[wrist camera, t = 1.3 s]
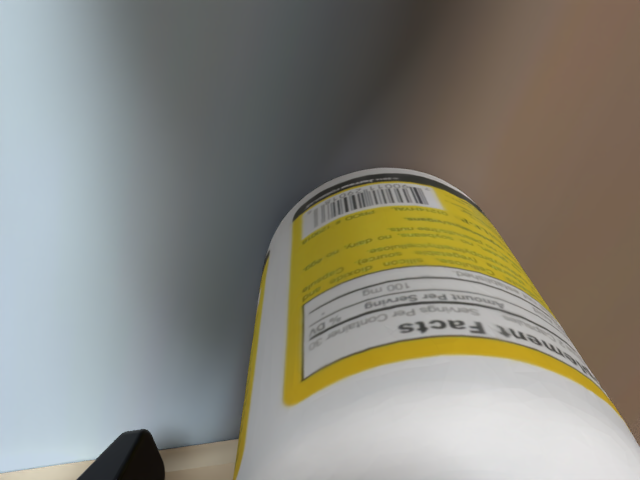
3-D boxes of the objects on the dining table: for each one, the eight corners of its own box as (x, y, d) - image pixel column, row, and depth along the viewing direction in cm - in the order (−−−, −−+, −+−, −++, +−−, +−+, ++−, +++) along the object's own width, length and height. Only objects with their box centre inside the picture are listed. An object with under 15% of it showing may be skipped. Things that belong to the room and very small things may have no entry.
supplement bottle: (396, 395, 15) (508, 1016, 6) (221, 292, 14) (48, 918, 5) (549, 248, 13) (1020, 857, 4) (362, 108, 12) (503, 604, 3)
